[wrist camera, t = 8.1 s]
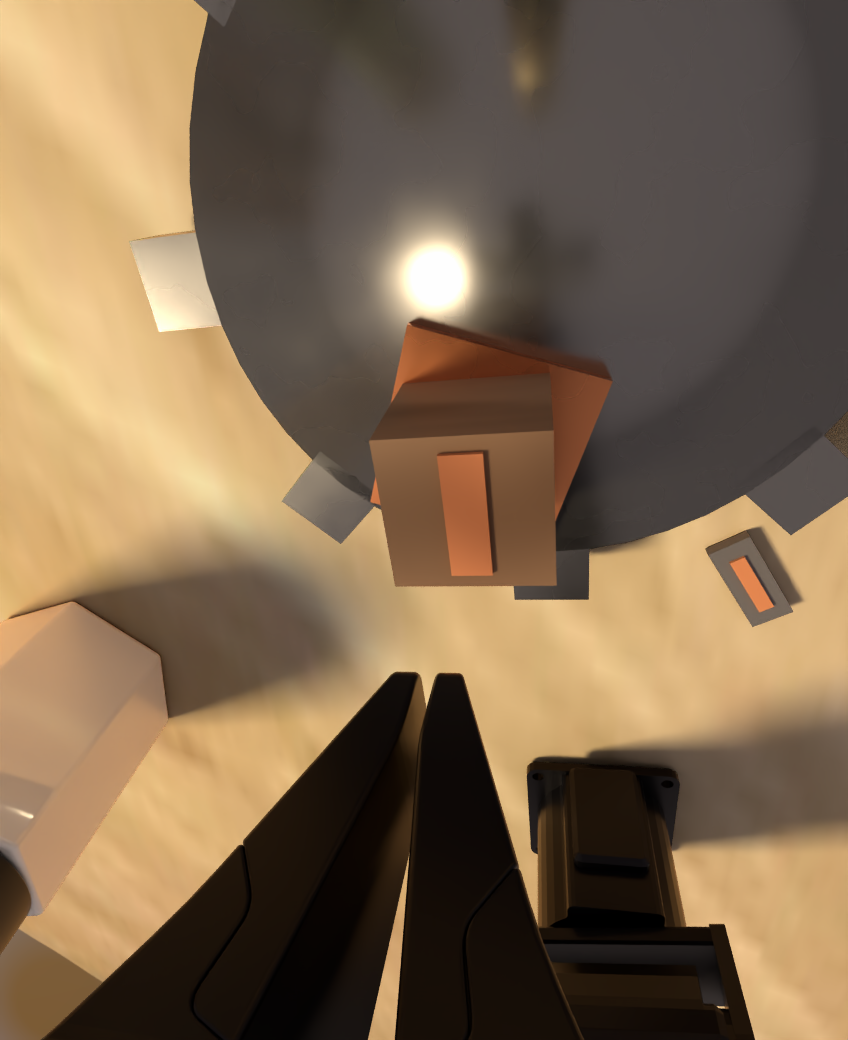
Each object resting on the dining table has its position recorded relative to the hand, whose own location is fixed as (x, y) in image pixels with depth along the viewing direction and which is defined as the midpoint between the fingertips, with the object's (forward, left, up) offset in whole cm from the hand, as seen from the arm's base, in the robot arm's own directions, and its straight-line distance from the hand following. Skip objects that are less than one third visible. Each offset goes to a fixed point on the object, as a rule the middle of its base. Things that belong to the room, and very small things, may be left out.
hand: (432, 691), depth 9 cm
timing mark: (-7, -9, -12) cm, 16 cm away
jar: (-12, +20, -12) cm, 26 cm away
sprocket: (+5, -2, -12) cm, 13 cm away
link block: (0, 0, -9) cm, 9 cm away
